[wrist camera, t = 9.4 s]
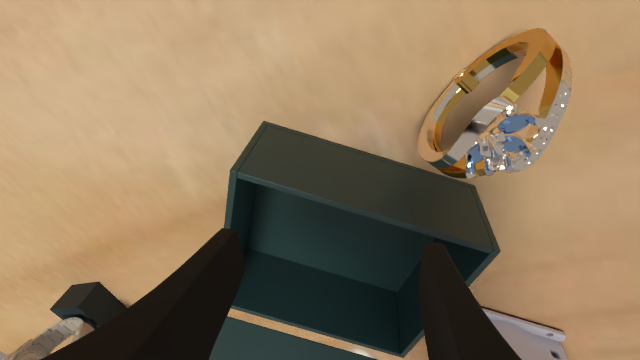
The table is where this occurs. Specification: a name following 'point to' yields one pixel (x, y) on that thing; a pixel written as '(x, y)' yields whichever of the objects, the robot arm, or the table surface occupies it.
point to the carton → (346, 237)
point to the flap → (271, 345)
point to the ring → (501, 110)
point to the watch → (72, 319)
